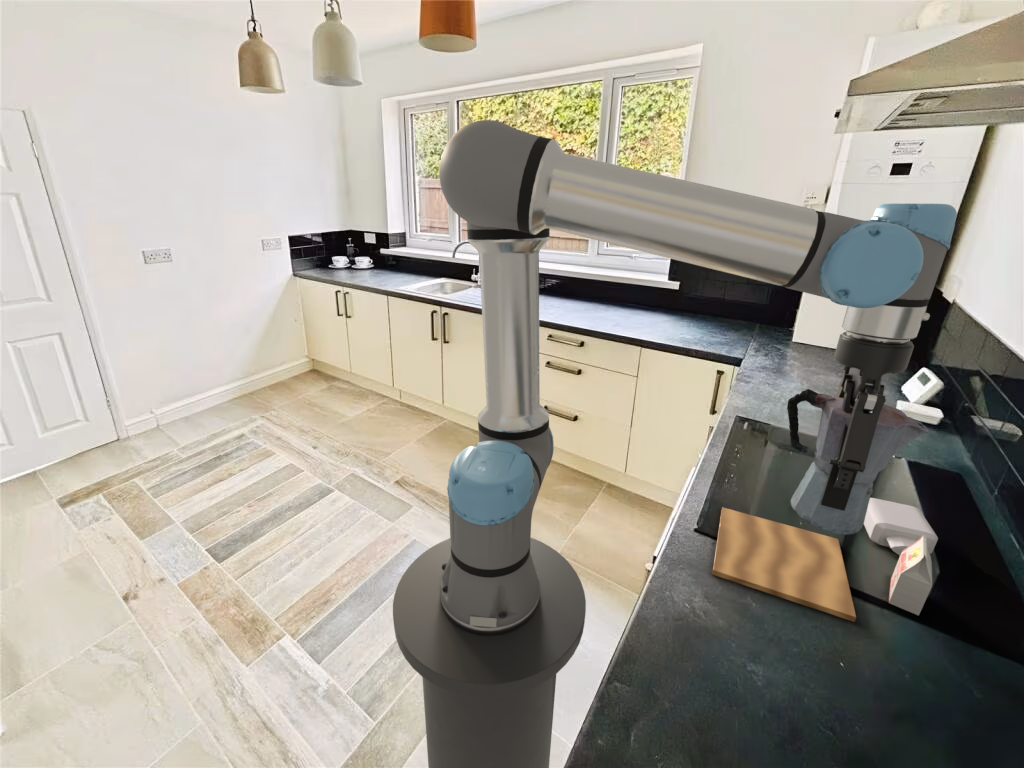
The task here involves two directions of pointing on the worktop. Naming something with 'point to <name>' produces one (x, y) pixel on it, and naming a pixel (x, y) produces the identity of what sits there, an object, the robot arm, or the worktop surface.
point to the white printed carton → (912, 578)
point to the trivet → (783, 562)
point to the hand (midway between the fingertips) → (829, 490)
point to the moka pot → (887, 440)
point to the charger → (897, 525)
